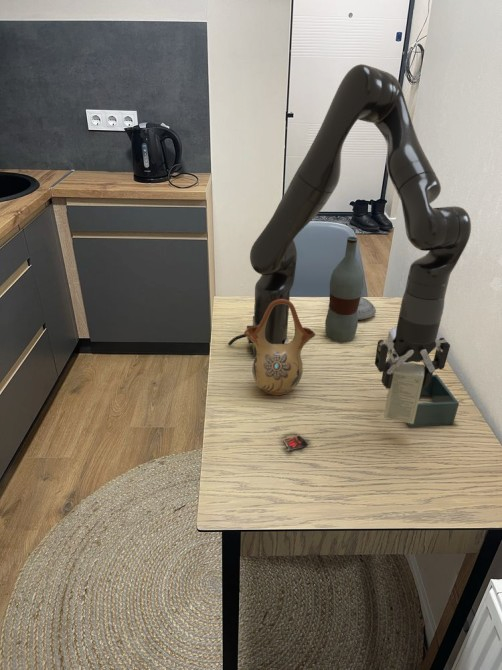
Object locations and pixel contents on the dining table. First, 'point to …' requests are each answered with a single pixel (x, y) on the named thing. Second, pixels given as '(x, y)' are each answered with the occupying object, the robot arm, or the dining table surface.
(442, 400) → the teal cube shelf
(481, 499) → the dining table surface
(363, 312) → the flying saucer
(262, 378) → the ceramic vessel
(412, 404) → the cosmetic box
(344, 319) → the bottle
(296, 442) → the matchbox
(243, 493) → the dining table surface
